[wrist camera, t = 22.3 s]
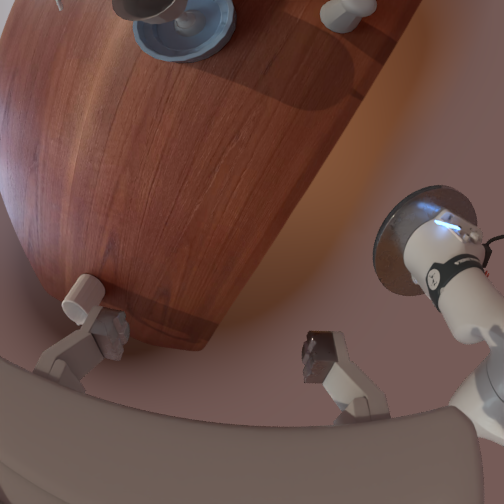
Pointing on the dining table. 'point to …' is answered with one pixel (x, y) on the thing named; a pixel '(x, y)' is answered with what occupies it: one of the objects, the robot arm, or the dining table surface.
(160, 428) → the robot arm
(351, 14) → the salt shaker
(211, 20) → the bowl
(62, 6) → the teapot
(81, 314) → the mug
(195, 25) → the chalice
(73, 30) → the dining table surface
